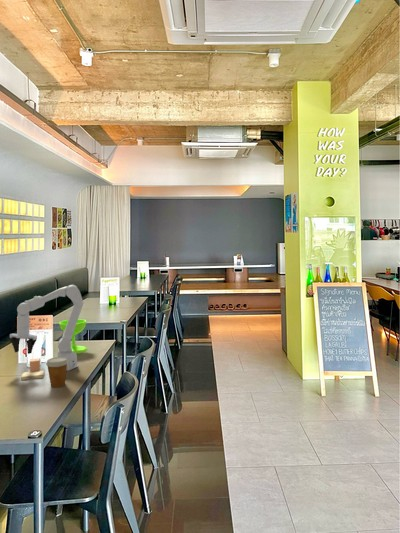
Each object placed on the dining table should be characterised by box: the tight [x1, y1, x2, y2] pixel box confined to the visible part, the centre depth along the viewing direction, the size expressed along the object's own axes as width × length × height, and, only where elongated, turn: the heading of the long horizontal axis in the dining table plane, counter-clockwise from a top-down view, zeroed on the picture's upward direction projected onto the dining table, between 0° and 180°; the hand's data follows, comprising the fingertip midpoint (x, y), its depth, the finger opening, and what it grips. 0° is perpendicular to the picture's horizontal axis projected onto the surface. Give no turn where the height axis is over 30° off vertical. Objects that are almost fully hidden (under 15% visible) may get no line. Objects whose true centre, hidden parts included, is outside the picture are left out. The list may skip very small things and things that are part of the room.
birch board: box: [20, 370, 45, 381], centre depth 201 cm, size 10×7×2 cm
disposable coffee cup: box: [45, 356, 68, 388], centre depth 188 cm, size 10×10×12 cm
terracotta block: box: [29, 357, 41, 372], centre depth 210 cm, size 4×4×6 cm
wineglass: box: [58, 318, 88, 354], centre depth 248 cm, size 16×16×18 cm
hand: (23, 352), depth 208 cm, fingers open, 7 cm apart
